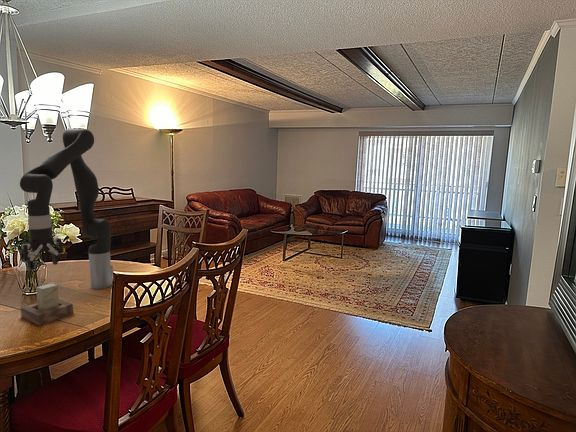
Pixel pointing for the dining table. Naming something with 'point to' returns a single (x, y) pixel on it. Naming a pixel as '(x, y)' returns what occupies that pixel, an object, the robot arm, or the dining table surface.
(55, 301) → the skincare box
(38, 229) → the robot arm
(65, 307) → the grey flat hollow block
